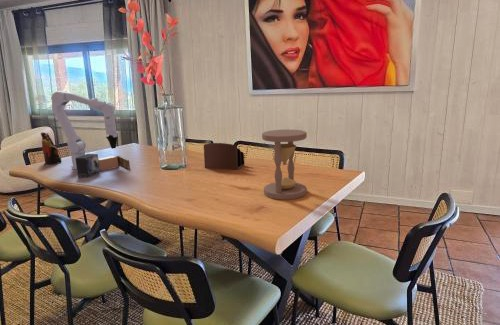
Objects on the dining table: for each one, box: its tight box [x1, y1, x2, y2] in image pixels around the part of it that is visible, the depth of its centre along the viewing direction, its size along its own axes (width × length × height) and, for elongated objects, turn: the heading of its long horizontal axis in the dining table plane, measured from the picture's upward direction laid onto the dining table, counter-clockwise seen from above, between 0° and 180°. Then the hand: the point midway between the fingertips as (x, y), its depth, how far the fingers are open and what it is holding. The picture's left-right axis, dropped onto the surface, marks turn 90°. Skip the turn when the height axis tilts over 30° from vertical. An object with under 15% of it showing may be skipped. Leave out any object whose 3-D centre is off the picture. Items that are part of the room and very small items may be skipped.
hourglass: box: [261, 129, 308, 201], centre depth 138 cm, size 18×18×25 cm
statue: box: [40, 131, 62, 165], centre depth 214 cm, size 12×8×20 cm, turn 49°
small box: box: [75, 153, 101, 178], centre depth 182 cm, size 11×6×10 cm, turn 168°
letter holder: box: [203, 142, 245, 171], centre depth 186 cm, size 10×20×14 cm, turn 69°
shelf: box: [115, 155, 131, 170], centre depth 194 cm, size 17×14×5 cm
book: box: [98, 155, 119, 171], centre depth 196 cm, size 5×10×6 cm, turn 136°
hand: (113, 148), depth 199 cm, fingers closed
